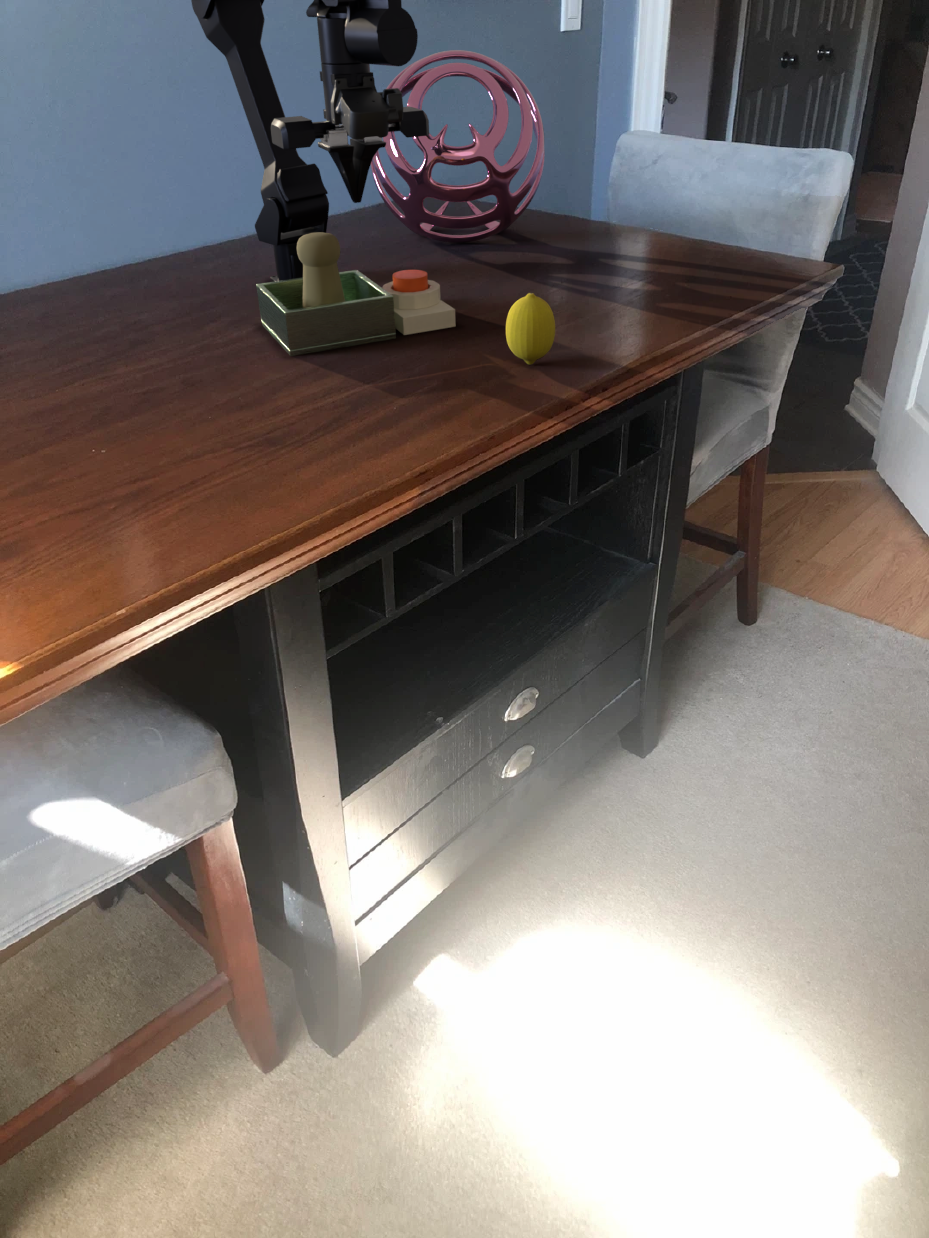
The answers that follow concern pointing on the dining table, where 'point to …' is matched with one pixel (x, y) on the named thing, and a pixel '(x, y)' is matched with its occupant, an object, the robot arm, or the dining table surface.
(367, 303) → the warming box
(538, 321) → the lemon
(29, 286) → the dining table surface
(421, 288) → the button
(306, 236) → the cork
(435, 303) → the control block
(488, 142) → the pink openwork sphere
